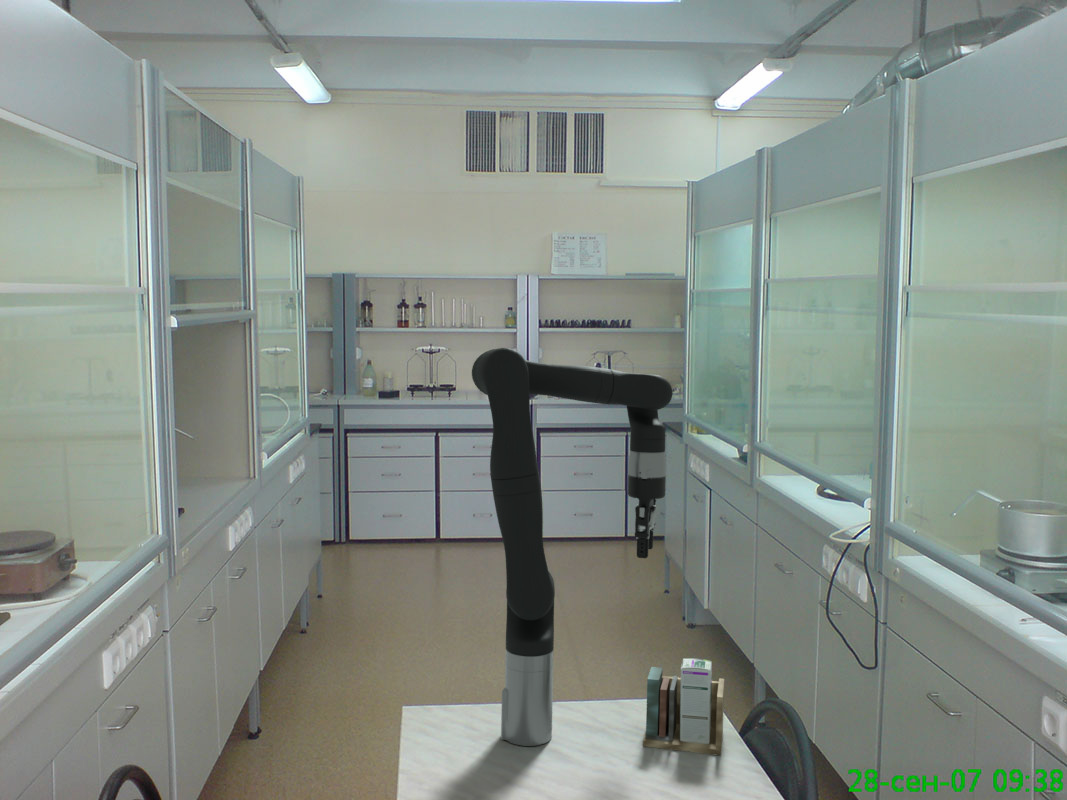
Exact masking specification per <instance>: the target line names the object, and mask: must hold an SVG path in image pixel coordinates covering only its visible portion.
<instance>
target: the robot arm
mask: <svg viewBox="0 0 1067 800" xmlns="http://www.w3.org/2000/svg"><path fill="white" fill-rule="evenodd" d="M471 378H472V381H473V384H474V385H475V386H476V388H477V390H479V391H480V392H481V393H482V394H485V395H486V396H487V398H488V401H489V409H490V412H491V419H492V439H491V440H492V441H491V448H490V456H489V457H490V458H489V459H490V460H489V464H490V465H489V472H490V474H489V475H490V483H491V489H492V494H493V495H492V496H493V501H494V507H495V514H496V518H497V523H498V526H499V531H500V535H501V538H502V542H503V543H502V544H503V547H504V548H503V549H504V554H505V555H504V556H505V571H506V573H505V575H506V588H505V589H506V591H505V593H506V595H505V597H506V624H505V625H506V627H505V666H504V667H505V669H504V670H505V672H504V674H505V675H504V688H503V689H502V690H501V721H500V723H501V724H500V725H501V726H500V730H501V733H500V734H501V735H500V740H502V741H504V740H505V741H507V742H509V743H511V744H514V745H517V746H524V747H534V746H541V745H543V744H546V743H548V742H549V741H550V740H551V739H552V738H553V737H552V735H553V691H554V689H553V687H554V686H553V685H554V643H555V598H556V594H555V593H556V589H555V580H554V577H553V575H552V574H551V572H550V571H549V569H548V568H549V567H548V563H547V559H546V554H545V548H544V547H545V546H544V539H543V537H544V536H543V534H544V531H543V530H544V529H543V528H544V526H543V525H544V519H543V518H544V515H543V513H544V511H543V491H542V483H541V478H540V477H541V476H540V470H539V465H538V459H537V452H536V445H535V444H536V443H535V439H534V432H533V427H532V420H531V407H530V406H531V405H530V404H531V403H530V395H538V396H539V395H540V396H548V397H553V398H554V397H555V398H559V399H560V398H561V399H567V400H573V401H576V402H577V401H578V402H585V403H591V404H601V405H611V406H612V405H614V406H615V405H617V406H618V405H619V406H620V405H621V406H626V410H627V418H628V423H629V427H630V440H629V442H630V443H629V455H628V464H627V465H628V469H627V496H629V497H630V498H632V499H638V504H636V506H635V507H634V513H635V522H634V530H635V532H634V537H635V538H636V557H637V558H639V559H648V557H649V550H652V549H653V547H654V531H655V528H656V527H655V526H656V525H657V512H658V511H657V510H658V508H657V505H656V502H657V500H660V499H662V498H663V499H664V498H665V496H666V484H667V483H666V480H667V479H666V477H667V475H666V474H667V459H666V428H665V425H664V424H663V423H662V422H660V420H659V410H662V409H663V408H666V407H667V406H668V405H669V404H670V403H671V400H672V398H673V393H674V392H673V387H672V385H671V383H670V381H669V380H668V379H666V378H665V377H664V376H661V375H658V374H650V373H649V374H648V373H638V372H625V371H620V370H616V369H612V368H611V369H610V368H606V367H605V368H603V367H597V366H590V365H589V366H587V365H586V366H585V365H573V364H571V365H570V364H553V363H552V364H551V363H542V362H536V361H531V360H527V359H525V358H524V356H523V355H522V354H521V353H520V352H519V351H517V350H516V349H513V348H510V347H500V348H494V349H490V350H487V351H485V352H483V353H482V354H480V355H479V356H478V357H477V358H476V359H475V361H474V362H473V365H472V367H471Z"/></svg>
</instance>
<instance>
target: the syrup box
mask: <svg viewBox="0 0 1067 800" xmlns="http://www.w3.org/2000/svg"><path fill="white" fill-rule="evenodd" d="M712 663H713V662H712V660H709V659H704V658H682V662H681V664H680V678H681V687H680V741H682V742H688V743H697V744H708V745H709V744H710V739H711V707H712V681H713V679H712V678H713V677H712V676H713V674H712V673H713V672H712V671H713V669H712V668H713V666H712Z"/></svg>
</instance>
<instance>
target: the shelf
mask: <svg viewBox="0 0 1067 800" xmlns="http://www.w3.org/2000/svg"><path fill="white" fill-rule="evenodd" d="M663 669H664V668H663V667H656V666H651V667H650V670H649V673H648V676H647V677H646V678H647V681H646V712H645V713H646V715H645V716H646V718H645V719H646V722H645V733H644V735H643V740H642V747H648V748H655V749H656V748H657V749H665V750H671V749H672V750H674V751H680V750H681V752H688V751H690V752H689V753H696V752H698V754H705V753H706V755H713V754H717V755H716V756H721V755H722V747H723V746H722V745H723V737H724V736H723V735H724V734H723V733H724V707H725V705H724V704H725V678H720V677H719V679H718V681H716V680H712V707H711V739H710V744H709V745H708V744H697V743H688V742H682V741H680V687H681V677H679V676H678V675H673V676H668V675H663ZM672 750H671V751H672Z"/></svg>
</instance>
